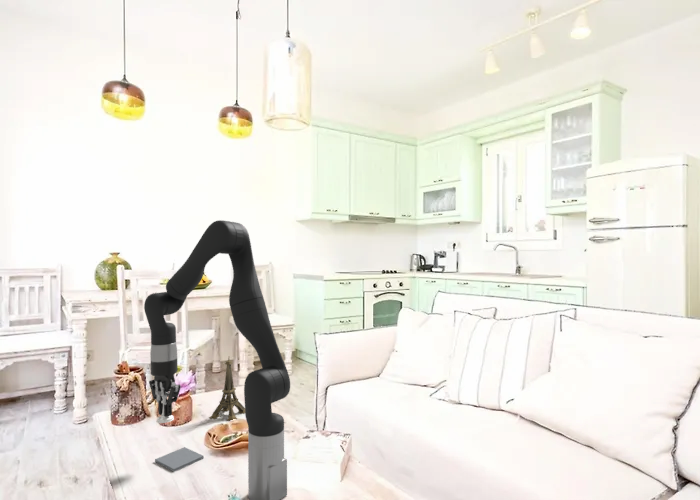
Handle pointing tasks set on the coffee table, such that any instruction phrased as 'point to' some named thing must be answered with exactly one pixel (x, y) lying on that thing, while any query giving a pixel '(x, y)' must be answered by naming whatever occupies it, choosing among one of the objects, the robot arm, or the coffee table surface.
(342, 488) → the coffee table surface
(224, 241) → the robot arm
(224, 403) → the eiffel tower
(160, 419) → the chess piece
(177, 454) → the slate tile
